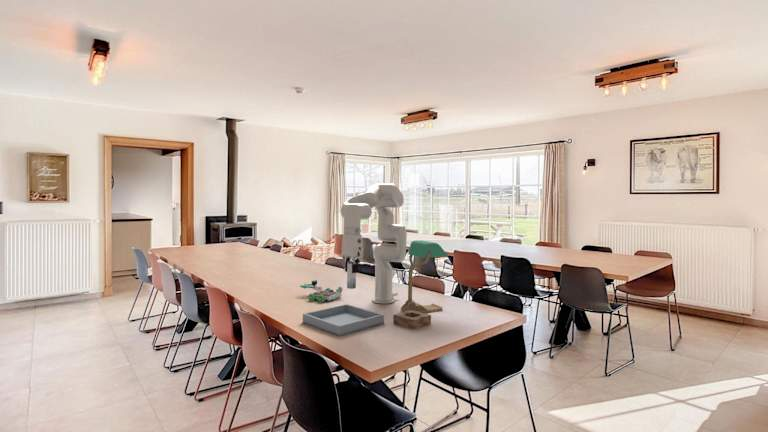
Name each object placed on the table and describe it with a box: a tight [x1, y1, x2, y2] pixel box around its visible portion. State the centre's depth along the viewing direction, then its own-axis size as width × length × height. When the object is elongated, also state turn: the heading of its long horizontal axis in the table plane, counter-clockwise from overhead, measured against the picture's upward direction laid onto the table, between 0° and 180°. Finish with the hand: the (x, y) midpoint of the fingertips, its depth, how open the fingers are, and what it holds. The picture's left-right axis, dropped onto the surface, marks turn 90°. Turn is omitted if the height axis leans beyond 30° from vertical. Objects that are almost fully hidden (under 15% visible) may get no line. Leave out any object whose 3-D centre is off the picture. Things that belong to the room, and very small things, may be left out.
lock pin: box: [346, 260, 357, 289], centre depth 191 cm, size 4×4×12 cm
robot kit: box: [300, 279, 343, 304], centre depth 240 cm, size 19×25×9 cm
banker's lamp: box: [400, 240, 449, 314], centre depth 215 cm, size 16×21×35 cm
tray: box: [302, 303, 385, 337], centre depth 192 cm, size 26×26×4 cm
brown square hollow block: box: [392, 310, 432, 330], centre depth 193 cm, size 12×12×4 cm
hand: (351, 271), depth 191 cm, fingers closed on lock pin, 4 cm apart
